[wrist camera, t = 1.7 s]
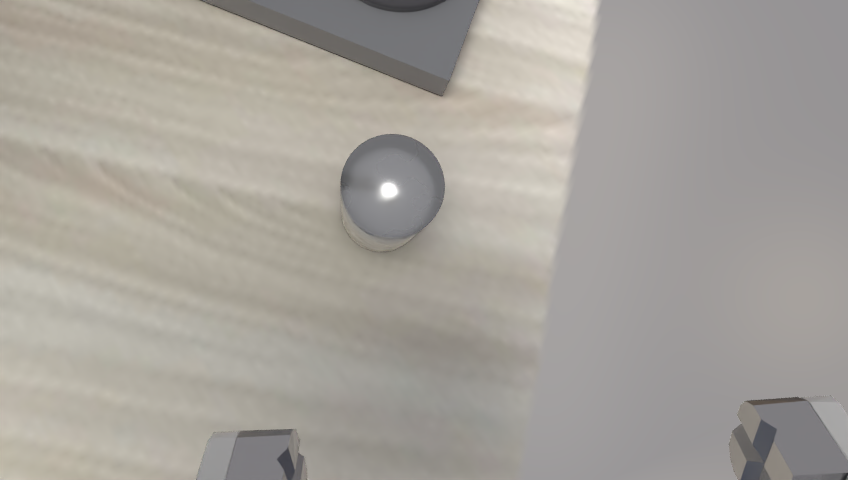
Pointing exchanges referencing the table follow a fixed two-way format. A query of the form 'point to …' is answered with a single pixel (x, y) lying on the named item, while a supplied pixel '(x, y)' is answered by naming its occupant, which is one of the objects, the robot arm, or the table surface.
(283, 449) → the robot arm
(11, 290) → the table surface
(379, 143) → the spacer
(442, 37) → the scale
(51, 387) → the table surface
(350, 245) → the table surface
